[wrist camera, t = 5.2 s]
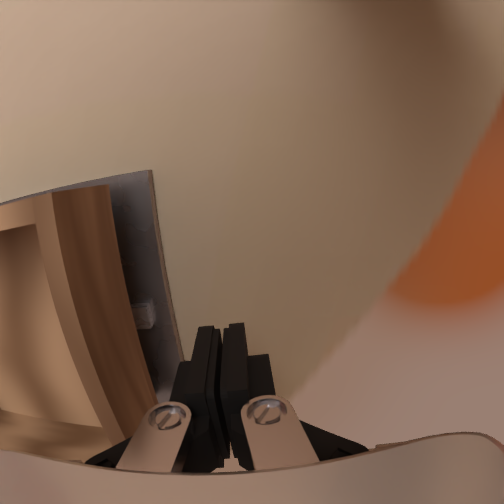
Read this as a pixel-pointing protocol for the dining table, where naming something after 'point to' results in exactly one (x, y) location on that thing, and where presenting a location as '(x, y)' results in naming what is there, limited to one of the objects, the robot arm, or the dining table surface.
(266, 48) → the dining table surface
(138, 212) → the track
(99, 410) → the open wooden crate
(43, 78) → the dining table surface
